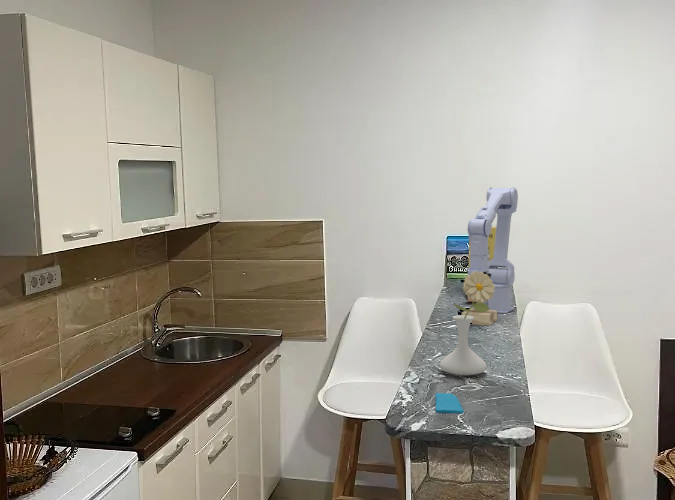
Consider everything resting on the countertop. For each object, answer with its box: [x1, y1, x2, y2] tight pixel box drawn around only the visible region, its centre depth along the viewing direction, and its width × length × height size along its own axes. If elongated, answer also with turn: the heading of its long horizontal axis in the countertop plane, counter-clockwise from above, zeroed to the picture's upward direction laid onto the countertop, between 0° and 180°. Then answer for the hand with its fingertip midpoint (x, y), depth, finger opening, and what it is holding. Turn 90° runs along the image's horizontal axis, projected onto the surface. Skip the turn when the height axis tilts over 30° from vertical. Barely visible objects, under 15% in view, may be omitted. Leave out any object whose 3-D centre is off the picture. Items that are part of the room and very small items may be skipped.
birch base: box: [461, 307, 498, 327], centre depth 234 cm, size 9×9×4 cm
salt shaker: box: [463, 292, 478, 306], centre depth 268 cm, size 6×6×12 cm
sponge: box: [434, 392, 465, 414], centre depth 149 cm, size 2×12×6 cm
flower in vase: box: [438, 271, 495, 376], centre depth 171 cm, size 13×11×25 cm
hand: (478, 296), depth 234 cm, fingers closed on terracotta cube, 5 cm apart
